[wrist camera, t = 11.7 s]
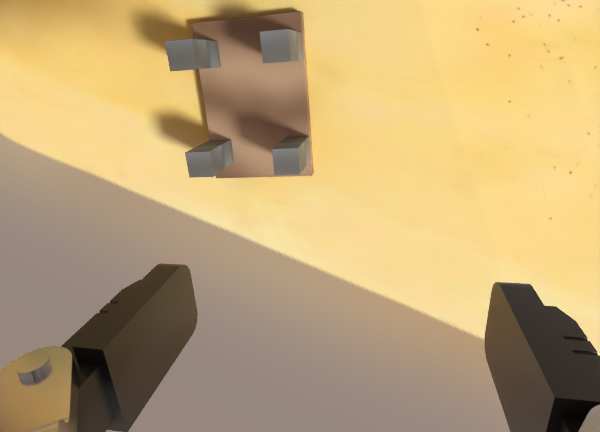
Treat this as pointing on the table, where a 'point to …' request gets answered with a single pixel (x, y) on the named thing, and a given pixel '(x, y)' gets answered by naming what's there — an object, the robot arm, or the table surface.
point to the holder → (250, 96)
